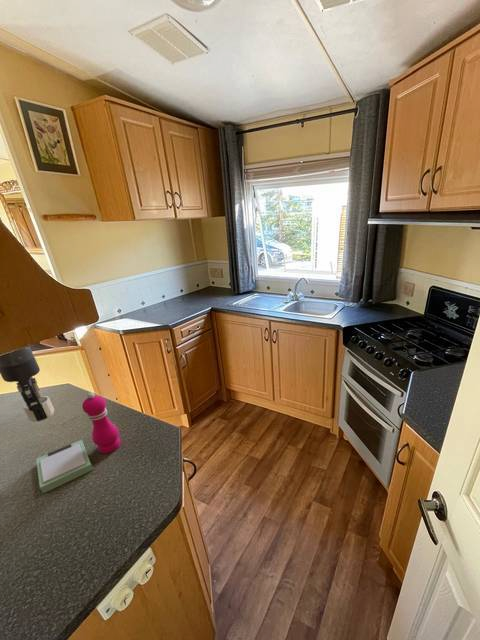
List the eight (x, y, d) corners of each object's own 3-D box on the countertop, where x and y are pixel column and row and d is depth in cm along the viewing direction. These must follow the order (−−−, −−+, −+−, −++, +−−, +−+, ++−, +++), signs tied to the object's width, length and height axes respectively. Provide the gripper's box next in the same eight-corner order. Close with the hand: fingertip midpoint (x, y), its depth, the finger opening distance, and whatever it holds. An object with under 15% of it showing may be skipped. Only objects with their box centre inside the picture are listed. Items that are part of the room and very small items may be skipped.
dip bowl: (24, 423, 77) (17, 409, 75) (37, 410, 82) (31, 397, 80) (47, 420, 78) (40, 406, 76) (59, 408, 83) (53, 395, 81)
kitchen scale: (38, 464, 87) (35, 457, 85) (84, 445, 93) (81, 438, 92) (43, 493, 77) (38, 486, 75) (93, 469, 83) (90, 462, 82)
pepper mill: (102, 458, 87) (80, 403, 79) (93, 447, 92) (71, 394, 83) (126, 445, 92) (107, 391, 83) (117, 435, 97) (98, 384, 88)
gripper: (-4, 355, 75) (23, 408, 83) (-6, 373, 65) (26, 432, 72) (31, 347, 80) (54, 398, 87) (35, 363, 69) (61, 419, 77)
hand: (41, 413), depth 80 cm, fingers closed on dip bowl, 6 cm apart
